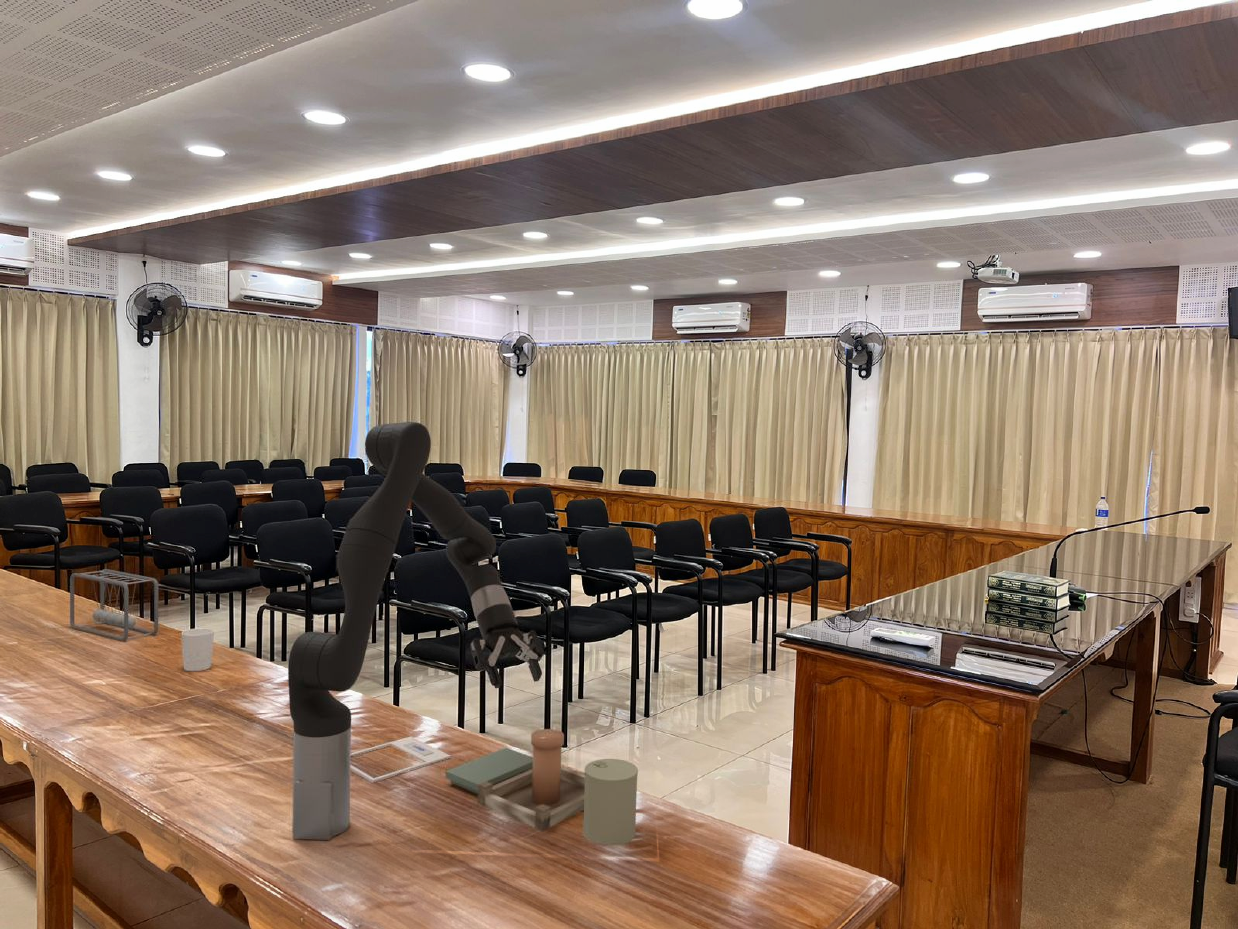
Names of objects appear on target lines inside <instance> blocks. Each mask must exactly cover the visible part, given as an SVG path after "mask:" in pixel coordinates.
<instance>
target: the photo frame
mask: <svg viewBox="0 0 1238 929" xmlns="http://www.w3.org/2000/svg"><path fill="white" fill-rule="evenodd" d="M387 746H388V747H393V746H394V747H393V748H395V747H396V748H395V749H397V750H398V749H400V750H402V751H404V752H406V753H409V754H411V755H412V756H415V757H416V758H417V759H416V758H415V759H416V760H418V759H419V760H418V761H420V760H422V761H423V762H422V761H421V763H419V764H415V765H412V766H409V767H406V768H402V769H400V770H399V769H398V770H395V771H393V772H389V773H386V774H383V775H381V776H377V777H372V776H371V775H369V774H367V773H366V772H364V771H362V770H361V769H359V768H357V767H355V766H353V765H352V764H350V771H351V770H352V771H351V772H353V773H355V774H357V775H358V776H360V777H362V778H364V779H365V780H367V781H369V782H370V783H371V784H372V783H373V784H374V783H377V782H380V781H383V780H385V779H389V778H393V777H395V775H396V776H398V775H397V774H399V773H402V774H404V773H403V772H405V771H408V770H412V771H414V770H413V769H415V768H418V767H421V768H424V767H427V766H429V765H428V764H431V763H434V764H436V762H437V763H440V762H442V760H443V761H445V760H449V759H451V755H450V754H447V753H446V752H444V751H442V750H439V749H438V748H435V747H433V746H432V745H429V744H427V743H426V742H423V741H422V740H419V739H417V738H415V737H413V736H412V735H411V736H408V737H404V738H401V739H398V740H397V739H396V740H394V741H389V742H385V743H382V744H379V745H375V746H373V747H367V748H365V749H364V748H363V749H362V750H357V751H353V752H351V755H350V758H352V757H351V756H353V757H357V756H359V755H358V754H360V755H362V754H361V753H364V754H367V753H370V752H369V751H371V752H373V751H372V750H374V751H376V749H378V750H381V749H384V747H385V748H388V747H387ZM400 750H399V751H400ZM402 751H401V752H402ZM366 752H367V753H366ZM404 752H403V753H404ZM406 753H405V754H406ZM356 755H357V756H356ZM412 756H411V757H412ZM448 758H449V759H448ZM439 761H440V762H439ZM426 765H427V766H426ZM431 765H432V764H431ZM423 766H424V767H423ZM418 769H419V768H418ZM415 770H416V769H415ZM408 772H409V771H408ZM405 773H406V772H405ZM399 775H400V774H399Z"/></svg>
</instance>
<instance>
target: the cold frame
mask: <svg viewBox="0 0 1238 929" xmlns="http://www.w3.org/2000/svg"><path fill="white" fill-rule="evenodd" d="M532 772H533V769H531V770H528V771H526V772H524V773H519V774H517V775H514V776H512V777H510V778H507V779H505V780H503V781H500V782H498V783H496V784H494V785H492V783H489V782H487V781H485V782H482V783H480V784H478V794H477V805H481V806H482V807H485V808H488V809H490V810H492V811H494V812H496V813H497V812H498V813H499V814H502V815H504V816H506V817H509V818H511V819H513V820H515V821H518V822H521V823H523V824H526V825H527V826H530V827H533V828H534V829H537V830H539V831H542V832H544V831H546V830H548V829H550V828H552V827H554V826H556V825H557V824H559V823H561V822H562V821H565V820H567V819H569V818H570V817H572V816H574V815H576V814H578V813H580V812H582V811H584V795H585V773H582V772H579V771H576V770H573V769H570V768H568V767H565V766H563V765H561V781H560V800H559V802H557V803H555V804H552V805H544V804H542V805H540V804H536V803H534V802H533V801H532ZM578 772H579V773H578Z"/></svg>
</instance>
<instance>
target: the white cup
mask: <svg viewBox="0 0 1238 929" xmlns="http://www.w3.org/2000/svg"><path fill="white" fill-rule="evenodd" d="M214 632H215V631H214V629H212V628H205V627H204V628H203V627H199V628H190V629H186V630H183V631H182V632H181V651H182V660H183V661H182V662H183V670H184V671H187V672H200V671H206V670H209V669H210V668H212V657H213V651H214V636H215V633H214Z"/></svg>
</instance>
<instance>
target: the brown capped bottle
mask: <svg viewBox="0 0 1238 929" xmlns="http://www.w3.org/2000/svg"><path fill="white" fill-rule="evenodd" d="M564 742H565V734H564V733H563V731H560V730H558V729H552V728H551V729H550V728H545V729H544V728H543V729H537V730H534V731H533V732H532V733H531V735H530V744H531V746H532V757H533V772H532V801H533V802H534V803H536V804H540V805H542V804H544V805H552V804H555V803H557V802H559V800H560V781H561V766H562V747H563V746H564V744H565V743H564Z"/></svg>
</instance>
